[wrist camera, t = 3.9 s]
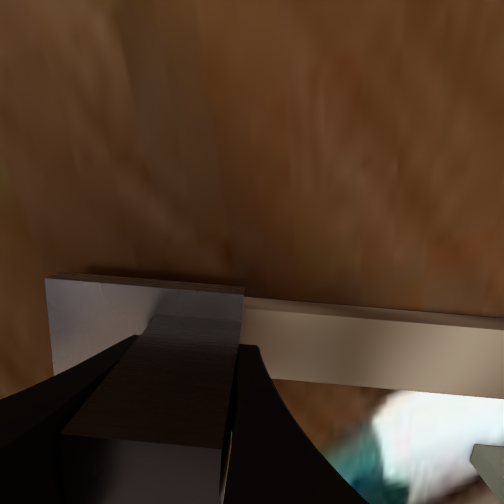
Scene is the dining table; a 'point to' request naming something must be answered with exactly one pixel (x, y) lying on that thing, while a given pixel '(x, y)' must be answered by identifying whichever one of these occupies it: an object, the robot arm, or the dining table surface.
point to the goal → (490, 467)
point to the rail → (377, 347)
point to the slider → (148, 387)
